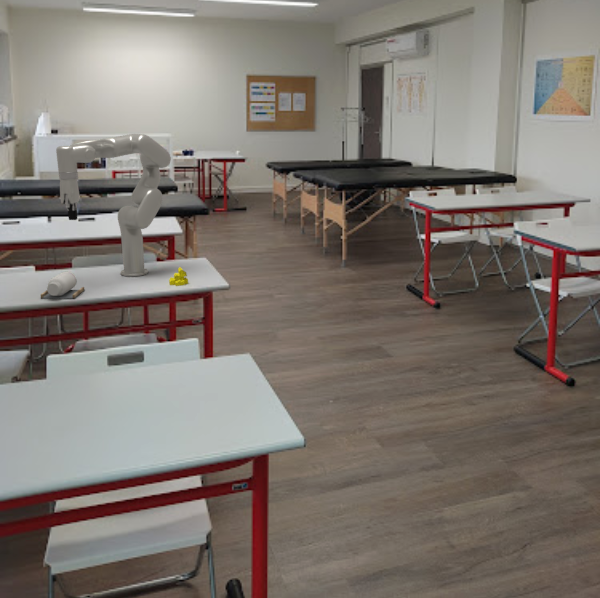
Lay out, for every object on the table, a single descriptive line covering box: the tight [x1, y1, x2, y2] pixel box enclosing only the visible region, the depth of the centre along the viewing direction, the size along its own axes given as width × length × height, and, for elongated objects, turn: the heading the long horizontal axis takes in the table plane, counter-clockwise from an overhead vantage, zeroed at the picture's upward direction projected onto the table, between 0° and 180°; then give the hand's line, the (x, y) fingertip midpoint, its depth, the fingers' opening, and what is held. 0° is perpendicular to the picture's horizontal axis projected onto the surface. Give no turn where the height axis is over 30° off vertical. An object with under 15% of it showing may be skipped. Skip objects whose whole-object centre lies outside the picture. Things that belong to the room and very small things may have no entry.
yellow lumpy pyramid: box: [168, 266, 189, 287], centre depth 300 cm, size 6×8×8 cm
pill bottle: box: [46, 271, 77, 296], centre depth 283 cm, size 8×8×15 cm
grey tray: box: [42, 289, 86, 300], centre depth 284 cm, size 12×14×1 cm
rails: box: [40, 286, 86, 300], centre depth 284 cm, size 12×14×2 cm
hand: (73, 219), depth 291 cm, fingers closed
